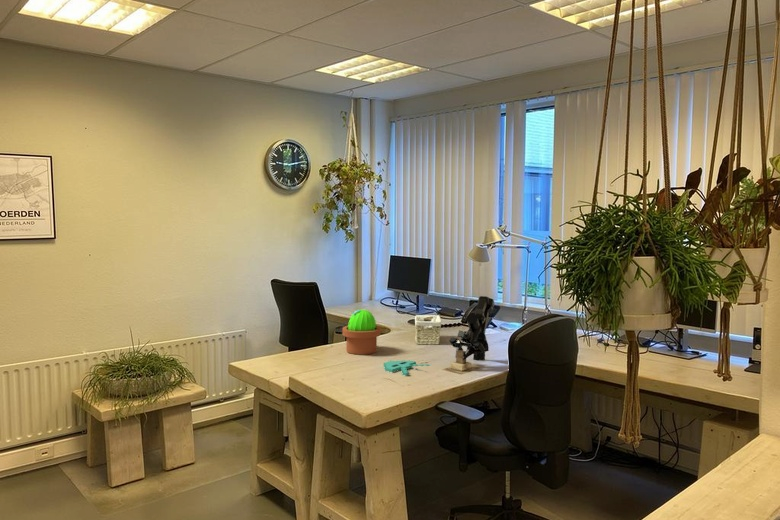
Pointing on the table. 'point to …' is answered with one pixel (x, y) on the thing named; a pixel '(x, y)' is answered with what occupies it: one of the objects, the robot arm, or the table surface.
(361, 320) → the potted cactus
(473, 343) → the robot arm
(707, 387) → the table surface
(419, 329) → the storage basket
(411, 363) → the alien figure
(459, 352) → the block
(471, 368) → the oak board
